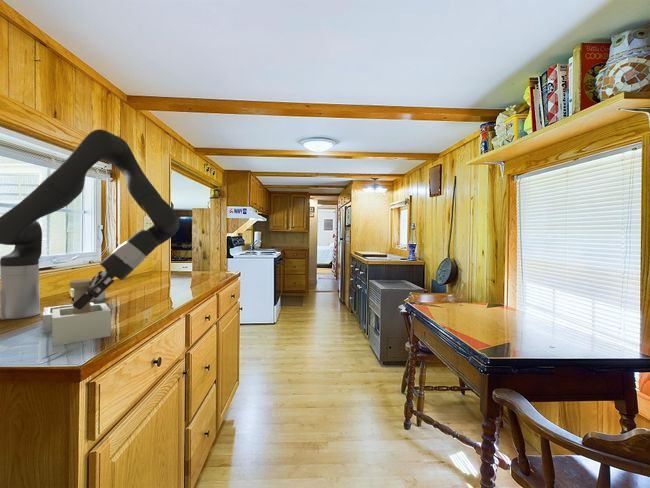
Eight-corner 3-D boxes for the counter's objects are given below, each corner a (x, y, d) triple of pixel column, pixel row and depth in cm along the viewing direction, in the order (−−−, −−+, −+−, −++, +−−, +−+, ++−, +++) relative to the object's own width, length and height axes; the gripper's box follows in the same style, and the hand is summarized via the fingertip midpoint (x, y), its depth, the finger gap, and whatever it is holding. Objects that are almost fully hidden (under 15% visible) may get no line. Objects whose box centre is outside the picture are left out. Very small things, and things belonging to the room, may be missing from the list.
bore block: (43, 333, 87) (43, 315, 87) (44, 323, 96) (43, 307, 96) (96, 325, 95) (96, 308, 95) (92, 317, 104) (92, 302, 104)
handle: (94, 330, 90) (92, 278, 89) (93, 336, 84) (91, 281, 84) (72, 333, 87) (71, 280, 86) (70, 339, 82) (68, 283, 81)
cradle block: (52, 346, 77) (52, 318, 77) (52, 334, 86) (52, 309, 86) (111, 335, 85) (110, 310, 85) (105, 326, 94) (105, 303, 94)
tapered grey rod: (95, 337, 109) (93, 301, 104) (96, 299, 127) (94, 267, 122) (106, 336, 111) (105, 300, 106) (105, 299, 129) (104, 267, 124)
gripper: (109, 250, 95) (61, 292, 88) (116, 252, 84) (62, 300, 77) (130, 266, 99) (85, 308, 91) (139, 270, 88) (89, 318, 81)
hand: (74, 304), depth 84 cm, fingers open, 8 cm apart
